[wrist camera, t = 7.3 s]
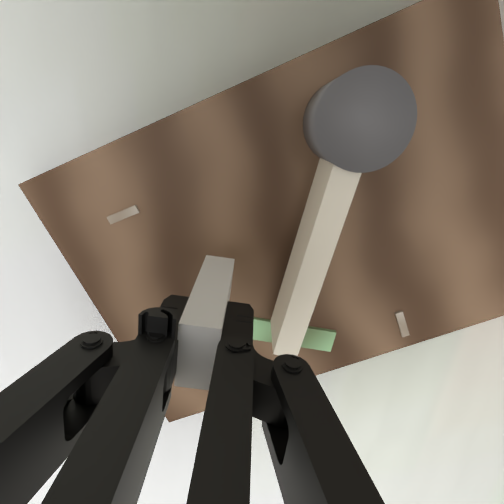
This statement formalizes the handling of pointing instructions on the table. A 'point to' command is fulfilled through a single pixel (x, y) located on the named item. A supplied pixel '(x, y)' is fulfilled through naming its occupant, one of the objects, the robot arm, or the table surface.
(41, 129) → the table surface
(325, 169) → the grey-tipped match
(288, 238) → the dial board
